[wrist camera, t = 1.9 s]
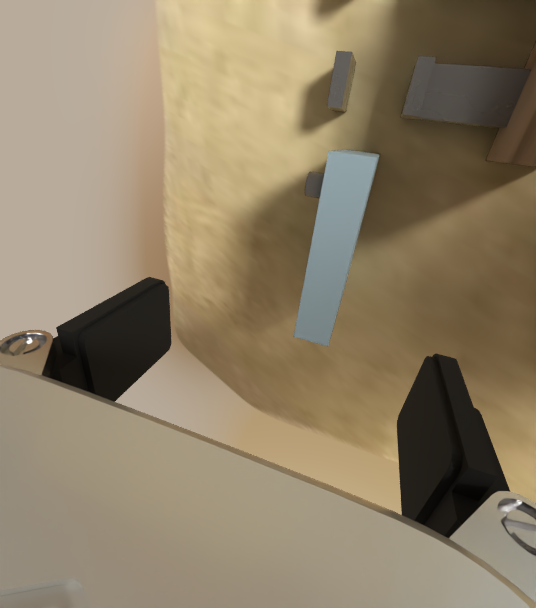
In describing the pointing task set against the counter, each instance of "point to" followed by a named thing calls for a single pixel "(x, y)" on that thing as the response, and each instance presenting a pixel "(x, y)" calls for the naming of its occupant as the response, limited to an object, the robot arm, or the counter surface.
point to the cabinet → (519, 126)
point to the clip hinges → (445, 91)
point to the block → (333, 238)
